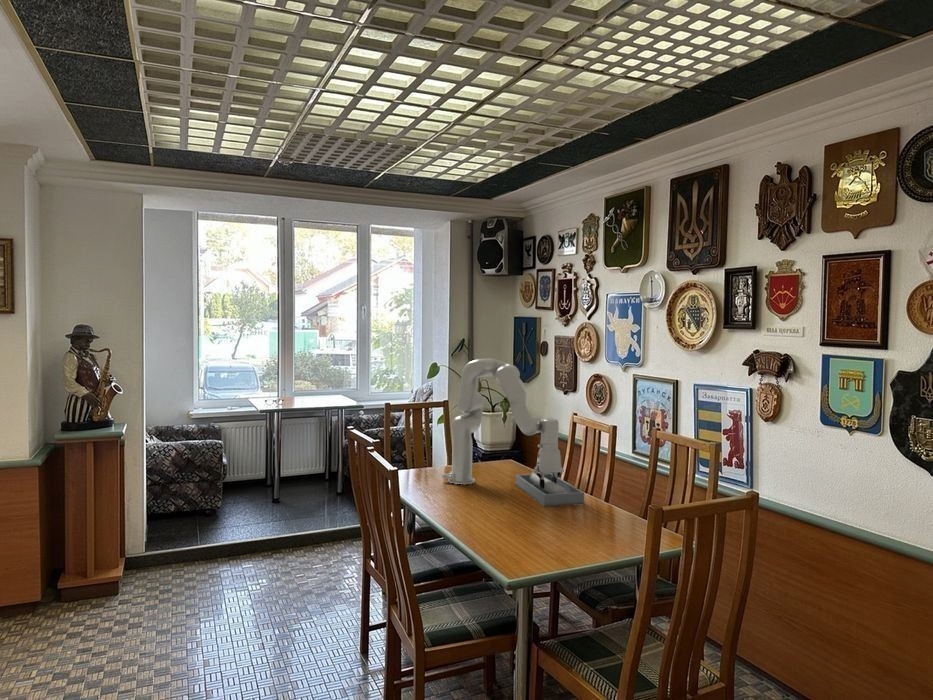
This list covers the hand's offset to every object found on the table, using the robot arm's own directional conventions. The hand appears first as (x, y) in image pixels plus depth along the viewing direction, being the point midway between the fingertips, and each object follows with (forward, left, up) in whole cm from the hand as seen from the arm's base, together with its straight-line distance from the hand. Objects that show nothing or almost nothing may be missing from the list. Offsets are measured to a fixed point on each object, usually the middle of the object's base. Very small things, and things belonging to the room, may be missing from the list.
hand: (547, 487), depth 275 cm
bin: (0, 0, -3) cm, 3 cm away
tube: (0, 0, -2) cm, 2 cm away
